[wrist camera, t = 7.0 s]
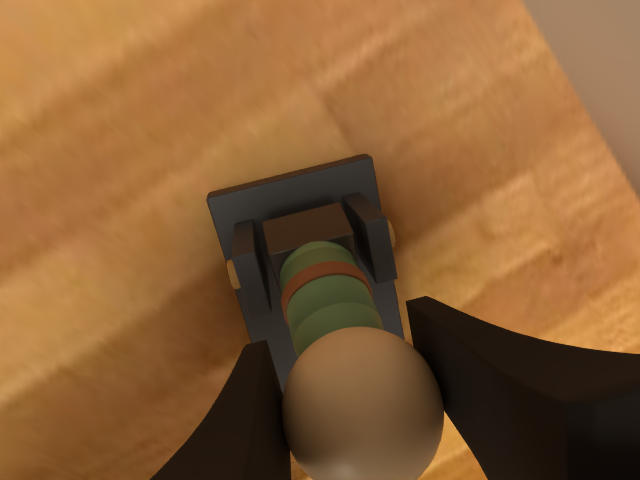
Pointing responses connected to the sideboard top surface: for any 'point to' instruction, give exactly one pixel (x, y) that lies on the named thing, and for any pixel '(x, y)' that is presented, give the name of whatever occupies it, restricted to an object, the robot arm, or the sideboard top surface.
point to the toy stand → (289, 198)
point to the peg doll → (347, 361)
